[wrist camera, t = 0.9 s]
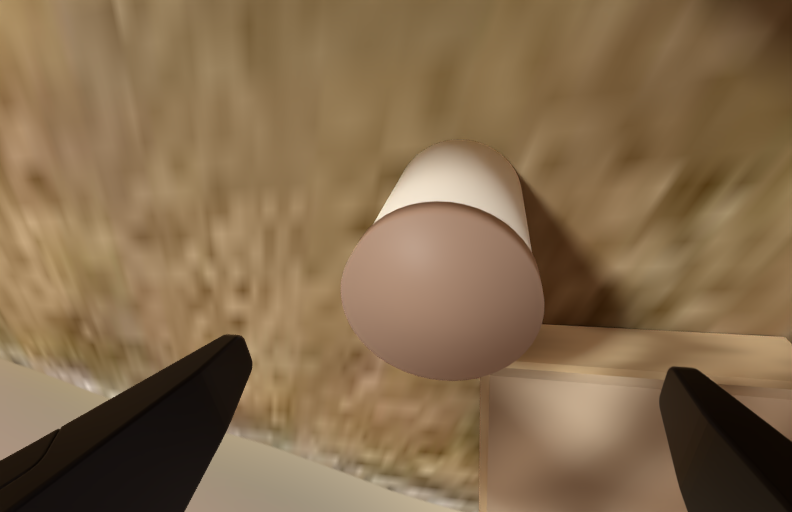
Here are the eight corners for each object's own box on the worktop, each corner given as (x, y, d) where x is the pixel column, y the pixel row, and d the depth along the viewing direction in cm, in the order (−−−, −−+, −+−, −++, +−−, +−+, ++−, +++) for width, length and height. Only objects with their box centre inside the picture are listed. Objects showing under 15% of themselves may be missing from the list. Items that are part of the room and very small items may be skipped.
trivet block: (784, 336, 17) (837, 394, 14) (704, 506, 22) (730, 568, 20) (481, 321, 19) (480, 367, 17) (480, 476, 25) (478, 528, 22)
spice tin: (529, 133, 15) (554, 214, 9) (521, 258, 17) (536, 388, 11) (388, 139, 16) (324, 215, 10) (400, 256, 18) (355, 372, 12)
